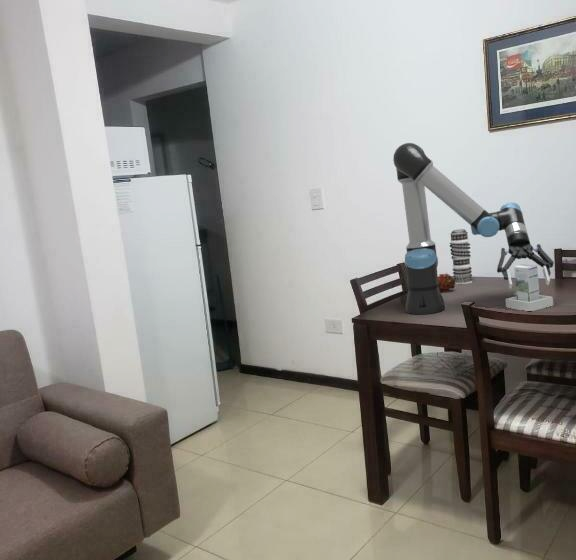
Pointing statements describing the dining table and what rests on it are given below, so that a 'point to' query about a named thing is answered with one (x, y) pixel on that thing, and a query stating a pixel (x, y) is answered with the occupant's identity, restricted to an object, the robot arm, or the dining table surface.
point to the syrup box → (527, 282)
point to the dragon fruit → (445, 282)
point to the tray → (529, 303)
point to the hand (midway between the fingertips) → (529, 284)
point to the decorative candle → (460, 257)
